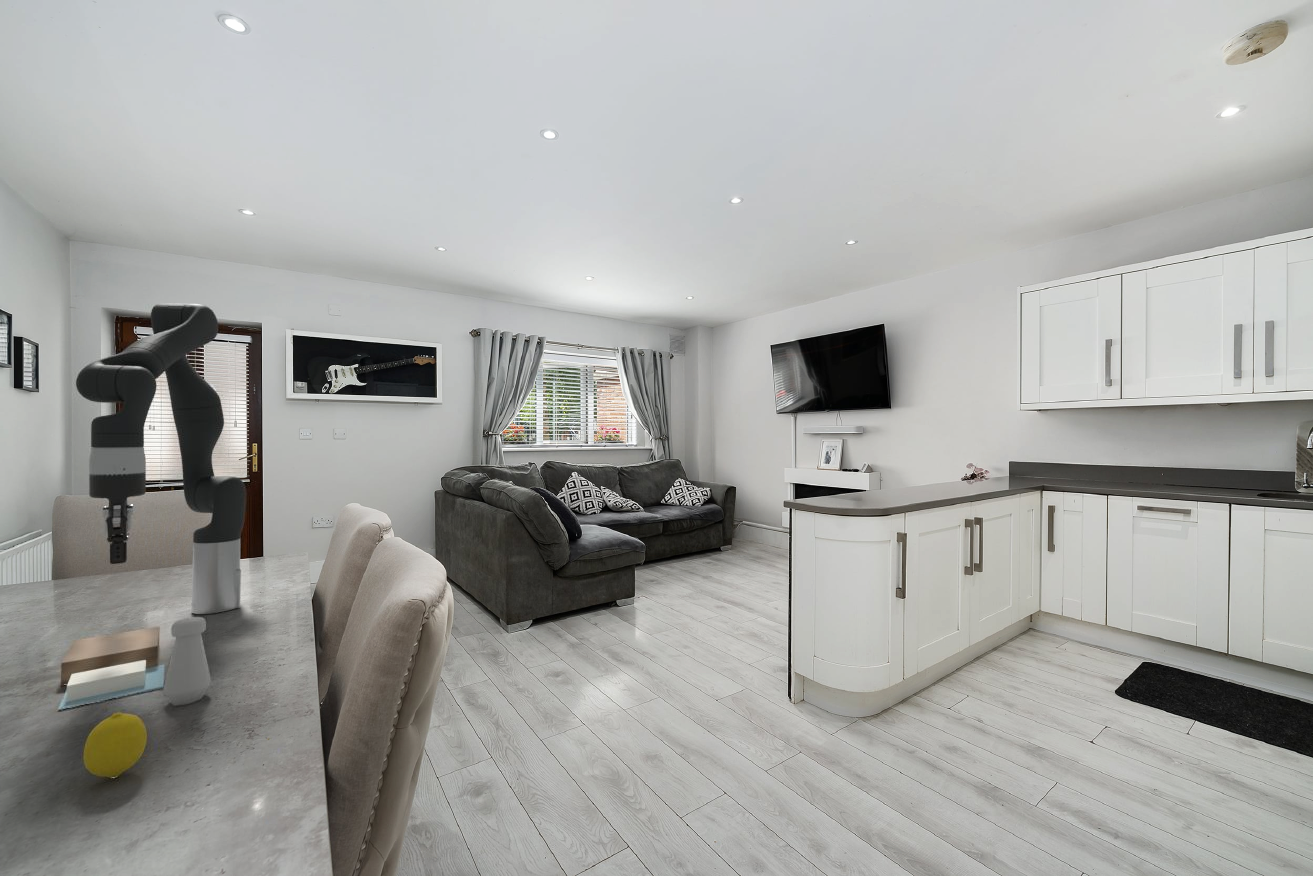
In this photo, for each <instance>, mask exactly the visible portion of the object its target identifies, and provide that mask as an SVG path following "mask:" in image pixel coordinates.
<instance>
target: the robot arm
mask: <svg viewBox="0 0 1313 876" xmlns="http://www.w3.org/2000/svg"><path fill="white" fill-rule="evenodd" d="M150 323H151V328H152V332H153V334H150V335H147V336H145V337H141V338H140V339H138V340H136V341H135V342H133V343H131V344H129V346H127V347H126V348H125V349H124V350H123V351H121V352H119V353H116V354H112V355H110V356H107V357H103V358H101V359H99V360H95V361H94V362H91V363H89V364H88V365H86V366H84V367H83V368H82V369H81V370H80V372H79V373H78V374H77V377H76V380H75V386H76V389H77V392H78V393H79V394H80V395H81V396H82V398H84V399H85V400H88V401H90V402H94V403H102V404H103V403H106V404H108V403H111V404H113V403H114V404H115V403H116V404H123V405H122V407H121V408H120V409H119V411H118V412H117V413H112V414H108V415H101V416H96V417H94V418H93V419H92V421H91V425H90V454H89V460H88V462H89V463H88V469H89V470H88V472H89V473H88V476H89V477H88V478H89V479H88V480H89V481H88V482H89V483H88V485H89V486H88V487H89V488H88V491H89V492H88V495H89V497H90V498H93V499H107V500H108V506H103V508H102V517H103V519H104V532H105V533H107V538H106V541H107V543H108V545H109V563H110V565H117V564H118V565H119V564H124V563H126V562H127V559H128V552H127V551H128V542H129V539H130V538H129V535H130V532H129V531H130V530H132V529H131V528H132V516H133V513H134V504H128V498H130V497H131V498H133V497H140V496H143V495H145V494H146V493H147V492H146V490H147V489H146V488H147V484H146V483H147V482H146V481H147V479H146V477H147V475H146V474H147V473H146V472H147V471H146V470H147V468H146V467H147V465H146V464H147V463H146V454H145V437H144V436H145V434H144V433H145V424H146V420H147V417H148V414H149V411H150V408H151V405H152V403H153V400H154V398H155V395H156V392H157V380H156V379H158V378H159V377H160V376H161V375H163V374H164V373H165V376H166V382H167V383H166V384H167V387H168V392H169V398H170V405H171V411H172V416H173V420H174V425H175V429H176V433H177V439H178V446H179V450H180V458H181V468H182V470H181V471H182V483H183V495H184V499H185V503H186V505H187V507H188V508H189V509H190V510H192V511H193V512H195V513H201V514H203V513H204V514H212V515H211V520H210V522H209V523H208V524H207V525H205V526H203V527H200V528H198V529H196V530H195V531H194V532H193V533H192V535H193V536H192V537H193V538H192V574H191V575H192V580H191V581H192V582H191V583H192V584H191V613H192V614H196V615H210V614H217V613H222V612H226V611H230V610H234V609H238V608H241V590H242V589H241V586H242V583H241V581H242V580H241V579H242V576H241V575H242V570H241V535H242V534H241V533H242V530H243V528H244V526H245V518H246V515H245V514H246V507H247V489H246V486H245V483H244V482H243V481H242V480H241V478H238V477H236V476H226V475H225V476H218V475H217V476H216V475H215V473H214V469H213V458H212V457H213V452H214V449H215V447H216V445H217V442H218V441H219V440H220V437H221V434H222V433H223V429H224V425H225V420H224V419H225V418H224V412H223V406H222V401H221V397H220V395H219V394H218V393H217V391H216V390H215V389H214V388H213V387H212V386H211V385H210V383H208V382H207V380H206V379H204V378H203V377H202V376H201V374H200V373H198V372H197V370H195V368H194V367H193V366H192V364H191V363H190V361H189V358H188V356H187V355H188V354H190V353H192V352H194V351H196V350H197V349H199V348H201V347H203V346H205V345H207V344H209V343H211V342H212V341H214V340H215V338H216V337H217V335H218V333H219V322H218V318H217V316H216V314H215V312H214V311H213V310H212V309H211V308H210V307H209V306H207V305H205V304H204V305H203V304H199V303H158V304H155V305H154V306H153V307H152V309H151V311H150Z"/></svg>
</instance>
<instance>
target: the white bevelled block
mask: <svg viewBox="0 0 1313 876" xmlns="http://www.w3.org/2000/svg"><path fill="white" fill-rule="evenodd" d="M145 676H146V660H142V661H137V662H132V663H127V664H121V665H116V666H111V667H106V668H101V669H95V670H90V671H85V672H80V673H75V674H72V675H71V677H70V680H69V682H68V684H67V686H66V690H67V697H66V702H68V701H73V700H78V699H82V698H87V697H92V696H96V695H101V694H105V693H110V692H115V691H119V690H124V689H129V688H133V687H138V686H143V685H145Z"/></svg>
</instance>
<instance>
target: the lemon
mask: <svg viewBox="0 0 1313 876" xmlns="http://www.w3.org/2000/svg"><path fill="white" fill-rule="evenodd" d="M147 734H148V733H147V729H146V726H145V724H144V722H143V720H142V719H141V718H140V717H138V716H137V715H134V714H131V713H122V712H120V711H119V712H118V711H117V712H115V713H113V714H112V715H111V716H108V717H107V718H105V719H104V720H102V721H100V722H99V723H98V724H97V725H96V726H95V727H94V728H93V729H92V730H91V732H89V734H88V736H87V738H86V741H85V745H84V749H83V764H84V767H85V769H87V771H89V773H90V774H92V775H94V776H97V777H108V778H110V779H112V778H111V777H116V776H119V775H120V776H121V775H122V774H123V773H124V772H125V771H127V770H129V769H130V768H131V767H132V766H134V765H135V764H136V763H138V761H139V759H140V758H141V756H142V755H143V753H144V750H145V748H146V745H147V741H148V740H147V739H148V735H147ZM120 776H119V777H120Z"/></svg>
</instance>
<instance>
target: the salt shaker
mask: <svg viewBox="0 0 1313 876" xmlns="http://www.w3.org/2000/svg"><path fill="white" fill-rule="evenodd" d="M170 628H171V629H170V634H171V636H172V637H173V638H175V640H174V644H173V647H172V648H173V649H172V652H171V657H170V661H169V665H168V670H167V672H166V673H167V674H166V678H165V680H164V681H165V683H164V686H163V692H164V695H165V697H166V698H167V699H168V702H169V703H170V704H171V705H173V706H175V707H178V706H183V705H190V704H192V703H195V702H197V701H200V700H202V699H203V697H204V695H205V693H206V692H207V690H208V689H209V687H210V685H211V683H212V678H211V675H210V674H211V673H210V671H209V670H210V669H209V665H208V660H207V655H206V651H205V645H204V642H203V637H202V634H203V633H204V632H205V631H206V628H207V622H206V619H205V618H203V617H200V616H192V617H186V618H182V619H180V620H179V619H178V620H177V621H175V622H174V623H173V624H172V625H171V627H170Z"/></svg>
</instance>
